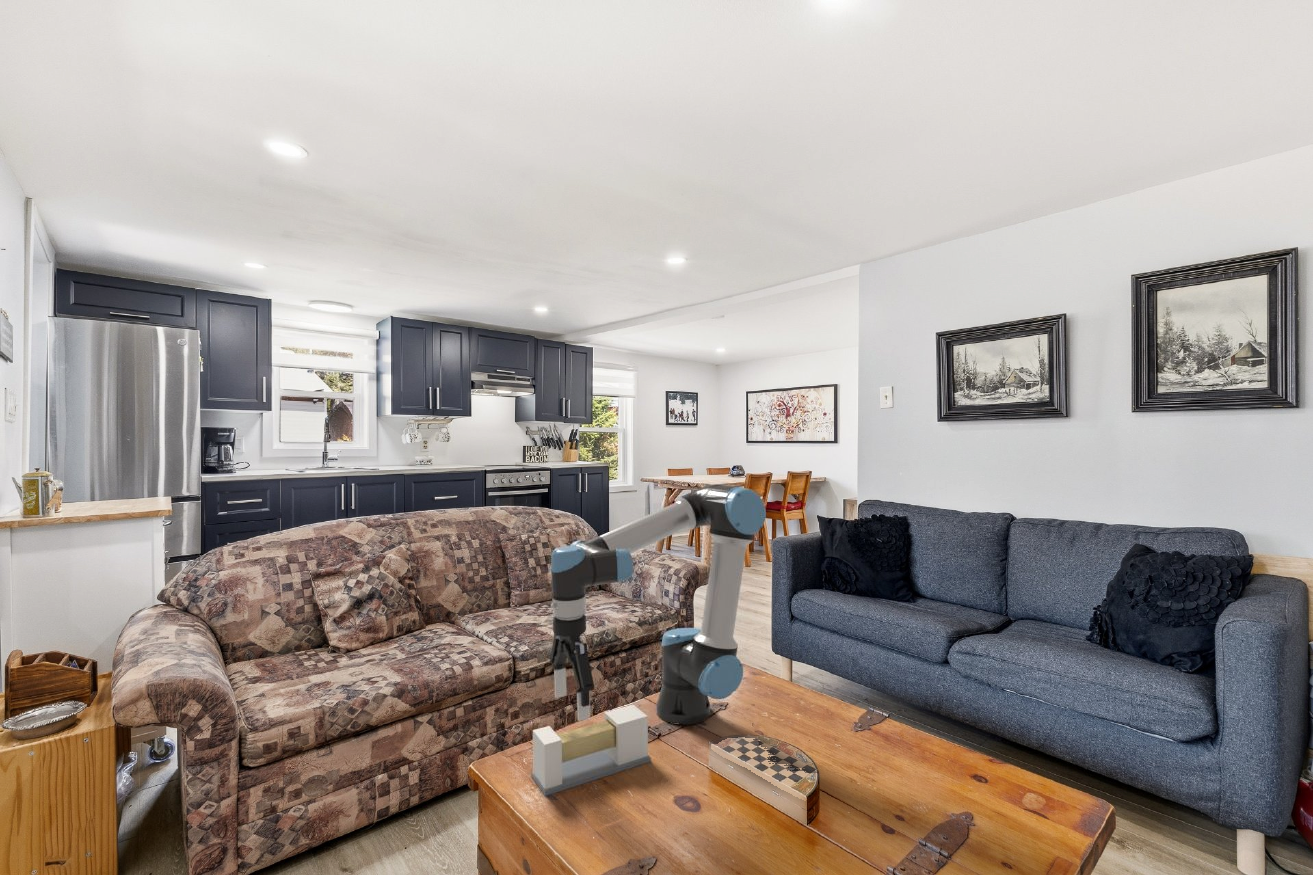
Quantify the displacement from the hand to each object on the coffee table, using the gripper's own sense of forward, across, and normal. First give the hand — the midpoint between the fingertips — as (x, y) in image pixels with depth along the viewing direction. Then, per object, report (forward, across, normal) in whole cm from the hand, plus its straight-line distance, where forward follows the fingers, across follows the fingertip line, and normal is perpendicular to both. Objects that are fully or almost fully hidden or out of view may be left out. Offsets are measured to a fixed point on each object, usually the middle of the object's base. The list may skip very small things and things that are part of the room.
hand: (571, 707), depth 140 cm
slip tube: (+11, 0, +2) cm, 11 cm away
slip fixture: (+16, 0, +5) cm, 16 cm away
